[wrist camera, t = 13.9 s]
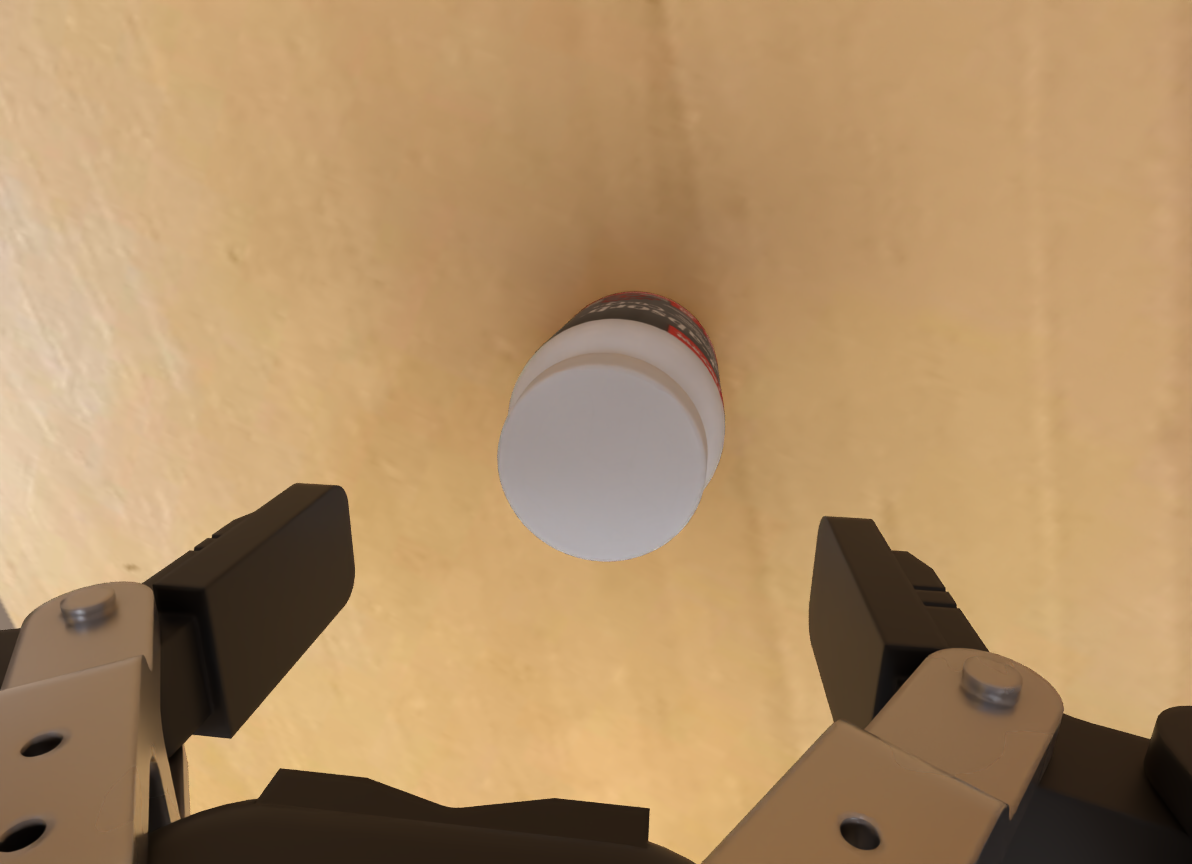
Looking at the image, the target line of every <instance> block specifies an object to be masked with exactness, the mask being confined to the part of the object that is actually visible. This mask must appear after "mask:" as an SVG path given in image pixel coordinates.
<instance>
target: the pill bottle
mask: <svg viewBox="0 0 1192 864" xmlns="http://www.w3.org/2000/svg"><path fill="white" fill-rule="evenodd" d="M724 436H725V413H724V404H723V398H722V392H721V386H720V379H719V372H718V364H717V359H716V355H715V351H714V348H713V345H712V343H711V341H710V339H709V337H708V335H707V333H706V331H705V330H704V328H703V327H702V326H701V324H700V323H699V322H698V320H697V319H696V318H695V317H694V316H693V315H692V314H691V313H690V312H688V311H687V310H686V309H685V308H683V307H682V306H680V305H679V304H677V303H676V302H674V301H672V300H670V299H668V298H665V297H663V296H659V295H656V294H652V293H647V292H623V293H617V294H613V295H609V296H606V297H604V298H601V299H599V300H597V301H595V302H593V303H591V304H589V305H588V306H586V307H585V308H584V309H582V310H581V311H580V312H579V313H578V314H576V315H575V316H574V317H573V318H572V319H571V320H570V321H569V322H568V323H567V324H566V325H565V326H563V327H562V328H561V329H560V330H559V331H558V332H557V333H556V334H554V335H553V336H552V337H551V338H550V339H549V340H548V341H547V342H545V343H544V344H543V345H542V346H541V347H540V348H539V349H538V350H537V351H536V352H535V354H534V355H533V356H532V357H531V358H530V360H529V361H528V362H527V364H526V365H525V367H524V368H523V370H522V372H521V374H520V375H519V377H518V379H517V382H516V384H515V386H514V389H513V392H512V395H511V399H510V404H509V411H508V416H507V418H506V420H505V423H504V426H503V428H502V431H501V435H500V439H499V444H498V455H497V458H498V472H499V477H500V482H501V485H502V488H503V491H504V493H505V496H506V498H507V500H508V502H509V504H510V506H511V508H512V509H513V511H514V512H515V514H516V515H517V517H518V518H519V519H520V520H521V522H522V523H523V524H524V525H525V526H526V527H527V528H528V529H529V530H530V531H531V532H532V533H533V534H534V535H535V536H536V537H538V538H539V539H540V540H542V541H543V542H545V543H546V544H548V545H549V546H551V547H553V548H555V549H556V550H558V551H561V552H564V553H565V554H568V555H571V556H574V557H577V558H581V559H586V560H591V561H621V560H628V559H632V558H635V557H639V556H642V555H645V554H647V553H650V552H652V551H654V550H656V549H658V548H660V547H661V546H663V545H664V544H666V543H667V542H669V541H670V540H671V539H672V538H673V537H675V536H676V535H677V534H678V533H679V532H680V531H681V530H682V529H683V528H684V527H685V526H686V524H687V523H688V522H689V520H690V519H691V517H692V516H693V514H694V513H695V511H696V509H697V507H698V504H699V502H700V500H701V497H702V493H703V490H704V489H705V488H706V486H707V485H708V483H709V482H710V480H711V478H712V476H713V474H714V472H715V470H716V468H717V466H718V463H719V461H720V457H721V454H722V450H723V444H724Z"/></svg>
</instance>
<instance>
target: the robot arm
mask: <svg viewBox="0 0 1192 864" xmlns="http://www.w3.org/2000/svg"><path fill="white" fill-rule="evenodd" d="M354 578H355V564H354V555H353V545H352V535H351V525H350V516H349V506H348V499H347V495H346V493H345V491H344V489H343V488H342V487H340V486H337V485H320V484H304V483H296V484H293V485H292V486H290V487H289V488H287V489H286V490H285V491H283V492H282V493H280V494H279V495H278V496H276V497H275V498H273V499H272V500H271V501H269V502H268V503H266V504H265V505H263V506H262V507H261V508H259V509H258V510H256V511H255V512H253V513H250V514H248V515H245V516H243V517H240V518H238V519H235V520H233V521H232V522H230V523H229V524H227V525H226V526H224V527H223V528H221V529H220V530H219V531H217V532H216V533H214V534H213V535H212V538H207V539H206V540H204V541H203V542H201V543H200V544H198V545H197V546H196V547H194V551H188V552H187V553H185V554H184V555H183V556H181V557H180V558H178V559H177V560H175V561H174V562H172V563H171V564H170V565H168V566H167V567H165V568H164V569H162V570H161V571H159V572H158V573H157V574H155V575H154V576H152V577H151V578H149V579H148V580H146V581H145V582H144V583H142V584H141V583H136V582H110V583H102V584H96V585H92V586H88V587H83V588H80V589H77V590H73V591H71V592H68V593H65V594H62V595H60V596H58V597H56V598H53V599H51V600H50V601H48V602H46V603H44V604H42V605H41V606H39V607H38V608H36V609H35V610H34V611H32V612H31V613H30V614H29V615H28V616H27V617H26V618H25V620H24V622H23V624H22V626H21V628H18V629H9V630H0V864H695V863H694V862H692V861H691V860H689V859H687V858H685V857H683V856H681V855H679V854H677V853H675V852H673V851H671V850H669V849H667V848H665V847H662V846H660V845H657V844H654V843H652V842H649V841H648V833H649V811H650V808H641V807H631V806H622V805H613V804H604V803H595V802H585V801H576V800H567V799H558V798H552V799H542V800H532V801H522V802H513V803H503V804H493V805H484V806H474V807H464V808H451V807H446V806H442V805H439V804H437V803H434V802H431V801H428V800H426V799H423V798H420V797H418V796H415V795H412V794H409V793H407V792H404V791H401V790H399V789H396V788H393V787H390V786H388V785H385V784H382V783H380V782H377V781H374V780H371V779H369V778H364V777H355V776H346V775H336V774H327V773H318V772H309V771H299V770H290V769H281V768H280V769H279V770H278V772H277V773H276V775H275V776H274V777H273V779H272V780H271V781H270V783H269V784H268V786H267V787H266V788H265V790H264V791H263V793H262V794H261V795H260V797H259V798H258V799H252V800H246V801H241V802H236V803H230V804H226V805H222V806H219V807H215V808H212V809H208V810H204V811H201V812H198V813H196V814H193V815H190V798H189V775H188V761H187V756H186V752H185V747H184V743H185V742H186V740H187V739H188V738H189V737H190V736H191V735H201V736H211V737H220V738H230V739H231V738H232V737H233V736H234V735H235V733H236V732H237V731H238V730H239V729H240V728H241V726H242V725H243V724H244V723H245V722H246V721H247V719H248V718H249V717H250V716H251V715H252V714H253V712H254V711H255V710H256V709H257V708H258V707H259V705H260V704H261V703H262V702H263V701H264V700H265V698H266V697H267V696H268V695H269V694H270V693H271V691H272V690H273V689H274V688H275V687H276V685H277V684H278V683H279V682H280V681H281V680H282V678H283V677H284V676H285V675H286V674H287V673H288V671H289V670H290V669H291V668H292V667H293V666H294V664H295V663H296V662H297V661H298V660H299V659H300V657H301V656H302V655H303V654H304V653H305V652H306V650H307V649H308V648H309V647H310V646H311V644H312V643H313V642H314V641H315V640H316V639H317V637H318V636H319V635H320V634H321V633H322V632H323V630H324V629H325V628H326V627H327V626H328V625H329V623H330V622H331V621H332V620H333V619H334V618H335V616H336V615H337V614H338V613H339V612H340V611H341V609H342V608H343V607H344V606H345V604H346V603H347V601H348V600H349V597H350V595H351V592H352V589H353V585H354ZM945 589H946V588H945V587H944V585H943V584H942V582H941V581H940V579H939V578H938V576H937V575H936V573H935V572H934V570H933V569H932V568H930V567H929V566H928V565H926V564H925V563H923V562H922V561H920V560H919V559H917V558H916V557H914V556H913V555H911V554H910V553H909V552H906V551H891V549H890V547H889V546H888V544H887V542H886V541H885V539H884V537H883V536H882V534H881V532H880V531H879V529H878V527H877V526H876V524H875V522H874V521H873V520H872V519H862V518H846V517H829V516H823V517H822V519H821V521H820V525H819V529H818V536H817V545H816V553H815V561H814V569H813V577H812V586H811V594H810V602H809V633H810V640H811V645H812V648H813V652H814V655H815V659H816V662H817V665H818V669H819V672H820V676H821V679H822V683H823V686H824V690H825V693H826V697H827V700H828V703H829V707H830V710H831V714H832V717H833V721H834V723H833V724H832V725H831V726H830V727H829V728H828V729H827V730H826V731H825V732H824V733H823V734H822V735H821V736H820V737H819V738H818V739H817V740H816V742H815V743H814V744H813V745H812V746H811V747H810V748H809V749H808V750H807V751H806V752H805V753H804V754H803V755H802V756H801V758H800V759H799V760H798V761H797V762H796V763H795V764H794V765H793V766H792V767H791V768H790V769H789V770H788V771H787V772H786V774H785V775H784V776H783V777H782V778H781V779H780V780H779V781H778V782H777V783H776V784H775V785H774V786H773V787H772V788H771V790H770V791H769V792H768V793H767V794H766V795H765V796H764V797H763V798H762V799H761V800H760V801H759V802H758V803H757V804H756V806H755V807H754V808H753V809H752V810H751V811H750V812H749V813H748V814H747V815H746V816H745V817H744V818H743V819H742V820H741V822H740V823H739V824H738V825H737V826H736V827H735V828H734V829H733V830H732V831H731V832H730V833H729V834H728V835H727V836H726V838H725V839H724V840H723V841H722V842H721V843H720V844H719V845H718V846H717V847H716V848H715V849H714V850H713V851H712V852H711V854H710V855H709V856H708V857H707V858H706V859H705V860H704V861H703V862H702V863H701V864H1192V706H1177V707H1172V708H1169V709H1167V710H1164V711H1163V712H1162V713H1161V714H1160V715H1159V716H1158V718H1157V721H1156V724H1155V727H1154V730H1153V733H1152V737H1151V739H1147V738H1144V737H1140V736H1136V735H1133V734H1129V733H1126V732H1122V731H1118V730H1115V729H1111V728H1107V727H1104V726H1100V725H1096V724H1093V723H1089V722H1086V721H1083V720H1080V719H1076V718H1074V717H1071V716H1069V715H1066V714H1063V711H1064V707H1063V702H1062V699H1061V697H1060V695H1059V694H1058V693H1057V691H1056V690H1055V689H1054V687H1053V686H1052V685H1051V684H1050V683H1049V682H1048V681H1046V680H1045V679H1044V678H1043V677H1041V676H1040V675H1039V674H1037V673H1036V672H1034V671H1033V670H1031V669H1029V668H1027V667H1026V666H1024V665H1022V664H1020V663H1018V662H1016V661H1013V660H1011V659H1009V658H1006V657H1003V656H1000V655H997V654H994V653H990V652H989V651H988V649H987V648H986V646H985V645H984V643H983V642H982V641H981V639H980V638H979V636H978V635H977V633H976V632H975V630H974V629H973V627H972V626H971V624H970V623H969V622H968V620H967V619H966V617H965V616H964V614H963V613H962V611H961V610H960V608H957V604H956V603H955V601H954V600H953V598H952V597H951V595H950V594H949V592H946V591H945Z"/></svg>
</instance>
